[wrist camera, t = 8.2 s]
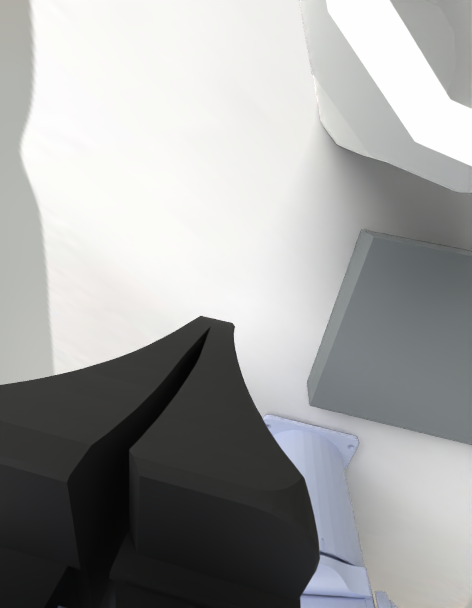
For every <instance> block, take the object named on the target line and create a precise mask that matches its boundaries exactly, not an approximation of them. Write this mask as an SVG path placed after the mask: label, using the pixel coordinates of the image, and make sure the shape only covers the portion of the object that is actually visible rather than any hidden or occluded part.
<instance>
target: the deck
mask: <svg viewBox="0 0 472 608" xmlns="http://www.w3.org/2000/svg"><path fill="white" fill-rule="evenodd" d="M307 386H308V395H309V403H310V406H314V407H318V408H322V409H326V410H330V411H334V412H338V413H342V414H347V415H351V416H355V417H359V418H363V419H367V420H371V421H375V422H380V423H384V424H388V425H392V426H396V427H400V428H404V429H408V430H412V431H417V432H421V433H425V434H429V435H433V436H437V437H441V438H445V439H449V440H454V441H458V442H462V443H466V444H470V445H472V251H469V250H464V249H459V248H454V247H448V246H443V245H438V244H433V243H428V242H423V241H418V240H412V239H407V238H402V237H397V236H392V235H387V234H381V233H376V232H371V231H366V230H361V232H360V235H359V238H358V241H357V243H356V246H355V249H354V252H353V255H352V258H351V260H350V263H349V266H348V269H347V272H346V274H345V277H344V280H343V283H342V286H341V288H340V291H339V294H338V297H337V300H336V302H335V305H334V308H333V311H332V314H331V316H330V319H329V322H328V325H327V328H326V330H325V333H324V336H323V339H322V342H321V345H320V347H319V350H318V353H317V356H316V359H315V361H314V364H313V367H312V370H311V373H310V375H309V378H308V381H307Z"/></svg>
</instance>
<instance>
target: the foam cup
mask: <svg viewBox="0 0 472 608" xmlns="http://www.w3.org/2000/svg"><path fill="white" fill-rule="evenodd" d="M299 3H300V9H301V15H302V20H303V26H304V32H305V38H306V44H307V49H308V55H309V61H310V67H311V72H312V74H313V76H314V84H315V92H316V98H317V103H318V109H319V115H320V121H321V124H322V125H323V126H324V128H325V129H326V131H327V132H328V133H329V135H330V136H331V137H332V139H333V140H334V141H335V143H336V144H337V145H339V146H341V147H344V148H346V149H348V150H351V151H353V152H355V153H358V154H360V155H362V156H366V157H369V158H373V159H377V160H380V161H384V162H387V163H389V164H392V165H394V166H396V167H399V168H401V169H403V170H406V171H408V172H410V173H413V174H415V175H417V176H420V177H422V178H424V179H427V180H429V181H431V182H434V183H436V184H438V185H441V186H443V187H445V188H448V189H450V190H452V191H455V192H464V193H472V0H299Z"/></svg>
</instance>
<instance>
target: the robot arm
mask: <svg viewBox="0 0 472 608" xmlns="http://www.w3.org/2000/svg"><path fill="white" fill-rule="evenodd" d="M234 329H235V326H234V325H233V323H230V322H225V321H221V320H216V319H212V318H208V317H203V316H200V317H198V318H196V319H195V320H193V321H191V322H190V323H188V324H186V325H185V326H183V327H181V328H180V329H178V330H176V331H175V332H173V333H171V334H169V335H168V336H166V337H164V338H162V339H160V340H158V341H156V342H154V343H152V344H150V345H148V346H146V347H143V348H141V349H139V350H137V351H134V352H132V353H129V354H126V355H124V356H121V357H119V358H116V359H113V360H110V361H106V362H103V363H100V364H96V365H93V366H90V367H87V368H83V369H80V370H76V371H72V372H67V373H63V374H59V375H54V376H50V377H45V378H40V379H35V380H29V381H24V382H17V383H11V384H5V385H0V608H375V605H374V600H373V596H372V591H371V587H370V582H369V578H368V573H367V569H366V568H365V565H364V560H363V556H362V551H361V546H360V541H359V537H358V532H357V527H356V522H355V518H354V513H353V508H352V503H351V499H350V494H349V489H348V484H347V480H346V475H345V469H346V467H347V466H348V464H349V462H350V460H351V458H352V456H353V454H354V452H355V450H356V448H357V446H358V445H359V441H358V438H357V437H356V436H354V435H350V434H346V433H341V432H337V431H333V430H329V429H325V428H321V427H317V426H313V425H309V424H305V423H301V422H297V421H293V420H289V419H285V418H281V417H277V416H273V415H266V416H265V417H264V419H262V417H261V415H260V413H259V412H258V410H257V408H256V406H255V404H254V402H253V400H252V398H251V396H250V394H249V392H248V389H247V387H246V384H245V382H244V379H243V376H242V374H241V370H240V367H239V364H238V360H237V356H236V351H235V345H234ZM267 424H269V425H267ZM375 595H376V600H377V604H378V608H398V607H397V606H396V605H395V604H394V603H393V602H392V601H391V600H389V598H388V596H387V594H386V593H385V592H383V591H377V592H375Z"/></svg>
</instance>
